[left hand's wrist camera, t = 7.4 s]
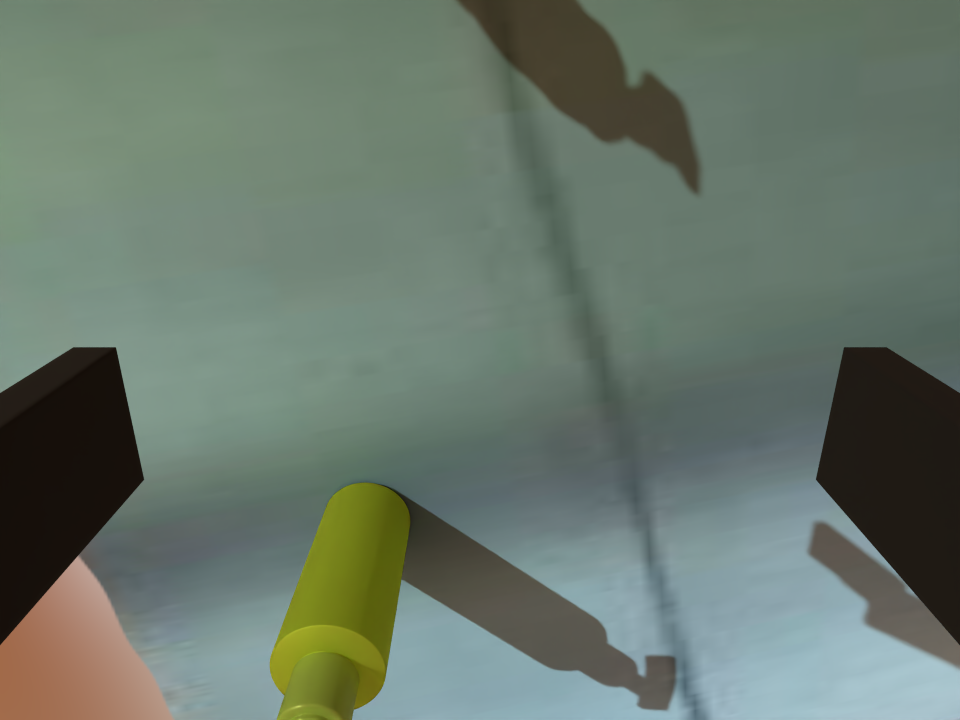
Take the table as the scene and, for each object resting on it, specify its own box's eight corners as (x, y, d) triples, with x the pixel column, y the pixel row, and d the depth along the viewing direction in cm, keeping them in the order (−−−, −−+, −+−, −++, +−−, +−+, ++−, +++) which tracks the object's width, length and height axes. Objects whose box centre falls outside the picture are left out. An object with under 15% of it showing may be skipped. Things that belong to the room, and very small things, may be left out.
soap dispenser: (412, 471, 45) (364, 739, 26) (409, 556, 47) (363, 855, 29) (324, 466, 45) (212, 731, 26) (325, 551, 47) (225, 849, 29)
